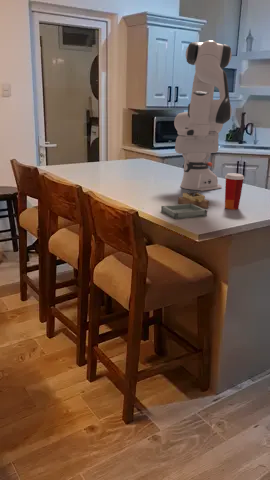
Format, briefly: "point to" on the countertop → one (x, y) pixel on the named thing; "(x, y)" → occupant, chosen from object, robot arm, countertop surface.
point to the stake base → (200, 204)
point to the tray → (183, 211)
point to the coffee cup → (233, 190)
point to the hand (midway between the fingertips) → (196, 163)
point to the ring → (194, 197)
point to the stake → (192, 192)
